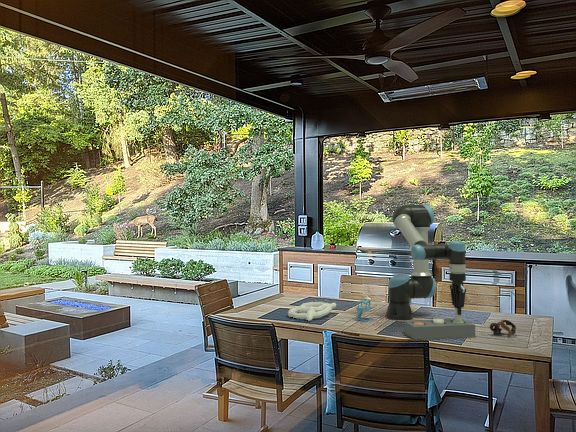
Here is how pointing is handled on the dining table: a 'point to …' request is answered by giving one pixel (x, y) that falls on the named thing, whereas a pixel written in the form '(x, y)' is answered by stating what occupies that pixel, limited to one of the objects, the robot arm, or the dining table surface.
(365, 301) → the teal overhanging stand
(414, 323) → the terracotta button
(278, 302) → the dining table surface
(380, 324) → the dining table surface
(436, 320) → the cream button
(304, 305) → the pretzel
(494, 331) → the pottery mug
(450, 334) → the button console
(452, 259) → the robot arm
